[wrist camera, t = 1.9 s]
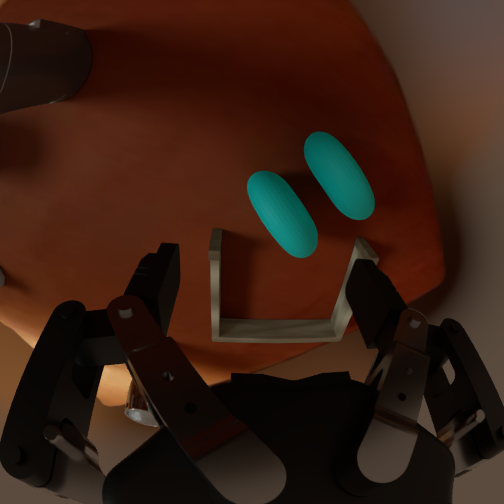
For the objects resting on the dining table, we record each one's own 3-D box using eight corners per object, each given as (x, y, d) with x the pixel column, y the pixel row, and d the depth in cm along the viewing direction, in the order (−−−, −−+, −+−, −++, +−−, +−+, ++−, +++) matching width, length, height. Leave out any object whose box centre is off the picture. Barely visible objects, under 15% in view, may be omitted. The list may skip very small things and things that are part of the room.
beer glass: (181, 358, 48) (171, 429, 35) (146, 355, 47) (130, 422, 34) (176, 335, 44) (162, 412, 31) (138, 331, 43) (117, 405, 31)
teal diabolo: (241, 171, 30) (241, 204, 22) (313, 121, 27) (344, 133, 19) (289, 232, 34) (305, 281, 26) (355, 189, 31) (392, 225, 23)
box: (212, 228, 34) (208, 250, 29) (364, 237, 35) (379, 258, 31) (213, 322, 42) (211, 347, 38) (334, 323, 44) (342, 346, 39)
